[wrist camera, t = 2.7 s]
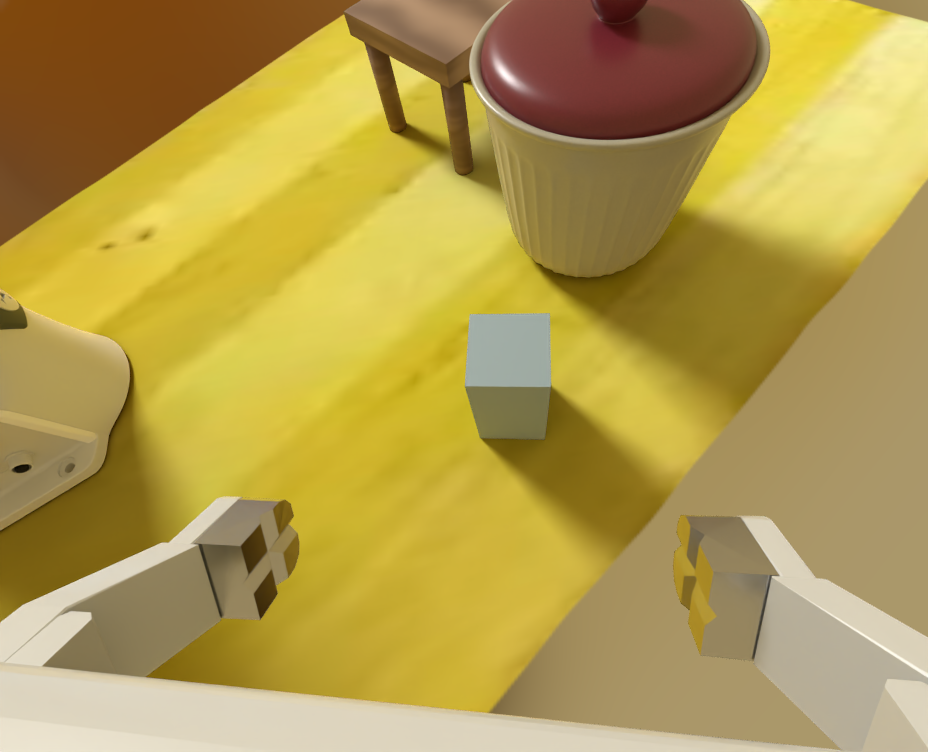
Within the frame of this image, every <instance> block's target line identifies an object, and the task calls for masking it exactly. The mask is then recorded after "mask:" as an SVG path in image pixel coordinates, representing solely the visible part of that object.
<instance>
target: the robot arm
mask: <svg viewBox="0 0 928 752" xmlns="http://www.w3.org/2000/svg"><path fill="white" fill-rule="evenodd" d="M129 383H130V368H129V363H128V360H127V357H126V355H125V353H124V351H123V350H122V348H121V347H120V346H119V345H118V344H117V343H116V342H114V341H113V340H111V339H109V338H107V337H105V336H102V335H98V334H93V333H89V332H86V331H83V330H79V329H76V328H73V327H70V326H68V325H65V324H62V323H60V322H57V321H55V320H52V319H50V318H48V317H45V316H43V315H41V314H38V313H36V312H34V311H32V310H29V309H27V308H25V307H23V306H21V305H20V304H19V303H18V302H17V301H16V300H15V299H14V298H13V297H11V296H10V295H9V294H7V293H6V292H5V291H3V290H2V289H0V530H2V529H4V528H5V527H7V526H9V525H10V524H12V523H14V522H15V521H17V520H19V519H20V518H22V517H24V516H25V515H27V514H29V513H30V512H32V511H34V510H35V509H37V508H39V507H40V506H42V505H44V504H45V503H47V502H49V501H50V500H52V499H54V498H55V497H57V496H59V495H60V494H62V493H64V492H65V491H67V490H69V489H70V488H72V487H73V486H75V485H77V484H78V483H80V482H82V481H83V480H85V479H87V478H88V477H90V476H92V475H93V474H95V473H96V472H97V471H98V470H99V469H100V468H101V466H102V464H103V462H104V459H105V456H106V451H107V445H108V438H109V434H110V431H111V429H112V427H113V425H114V423H115V421H116V419H117V417H118V415H119V414H120V412H121V409H122V407H123V405H124V402H125V400H126V397H127V393H128V389H129ZM293 517H294V515H293V511H292V507H291V504H290V503H289V502H288V501H286V500H283V499H267V498H250V497H244V498H243V497H228V496H225V497H221V498H217V499H216V500H215V501H214V502H213V503H212V504H211V505H210V506H209V507H207V508H206V509H205V510H204V511H203V512H202V513H201V514H200V515H199V516H198V517H196V518H195V519H194V520H193V521H192V522H191V523H190V524H189V525H188V526H187V527H185V528H184V529H183V530H182V531H181V532H180V533H179V534H178V535H177V536H176V537H174V538H173V539H172V540H171V541H170V542H169V543H160V544H158V545H155V546H153V547H151V548H149V549H146V550H144V551H142V552H140V553H138V554H135V555H133V556H131V557H129V558H126V559H124V560H122V561H120V562H117V563H115V564H113V565H111V566H109V567H106V568H104V569H102V570H100V571H97V572H95V573H93V574H91V575H88V576H86V577H84V578H82V579H79V580H77V581H75V582H73V583H71V584H68V585H66V586H64V587H62V588H59V589H57V590H55V591H53V592H50V593H48V594H46V595H44V596H42V597H39V598H37V599H35V600H33V601H30V602H28V603H26V604H24V605H22V606H21V607H19V608H18V609H17V610H16V611H14V612H13V613H12V614H10V615H9V616H8V617H7V618H5V619H4V620H3V621H1V622H0V752H928V638H927V637H926V636H924V635H922V634H921V633H919V632H917V631H915V630H914V629H912V628H910V627H908V626H907V625H905V624H903V623H902V622H900V621H898V620H896V619H894V618H893V617H891V616H889V615H887V614H886V613H884V612H882V611H881V610H879V609H877V608H875V607H874V606H872V605H870V604H868V603H867V602H865V601H863V600H861V599H860V598H858V597H856V596H854V595H853V594H851V593H849V592H848V591H846V590H844V589H842V588H841V587H839V586H837V585H835V584H834V583H832V582H830V581H828V580H827V579H816V577H815V576H814V575H813V573H812V572H811V571H810V570H809V568H808V567H807V566H806V564H805V563H804V562H803V560H802V559H801V558H800V557H799V556H798V554H797V553H796V551H795V550H794V549H793V548H792V546H791V545H790V544H789V542H788V541H787V540H786V538H785V537H784V536H783V535H782V533H781V532H780V531H779V529H778V528H777V527H776V526H775V524H774V523H773V522H772V520H771V519H769V518H767V517H766V516H736V517H730V516H694V515H691V516H690V515H681V516H680V518H679V521H678V526H677V535H678V537H679V539H680V542H681V544H682V545H681V546H680V547H679V548H678V549H677V550H676V551H675V552H674V562H673V570H674V582H675V586H676V590H677V594H678V596H679V599H680V602H681V604H682V605H684V606H685V607H686V608H687V609H688V610H690V613H689V621H688V624H689V627H690V629H691V632H692V634H693V637H694V640H695V642H696V645H697V648H698V650H699V653H700V655H701V656H711V657H720V658H729V659H738V660H748V661H754V665H755V666H756V667H757V668H758V669H759V670H760V671H761V672H762V673H764V674H765V675H766V676H767V677H768V678H769V679H770V680H771V681H772V682H773V683H774V684H775V685H776V686H777V687H778V688H779V689H780V690H781V691H782V692H783V693H784V694H785V695H786V696H787V697H788V698H789V699H790V700H791V701H792V702H793V703H794V704H795V705H796V706H797V707H798V708H799V709H801V710H802V712H804V713H805V715H807V716H808V717H809V718H810V719H811V720H812V721H813V722H814V723H815V724H816V725H817V726H818V727H819V728H820V729H821V730H822V731H823V732H824V733H825V734H826V735H827V736H828V737H829V738H830V739H831V740H832V741H833V742H834V743H835V744H836V745H837V746H838V747H839V748H840V749H841V750H834V749H825V748H814V747H805V746H796V745H787V744H777V743H768V742H758V741H748V740H739V739H729V738H719V737H709V736H699V735H690V734H680V733H671V732H661V731H651V730H642V729H633V728H623V727H613V726H605V725H595V724H585V723H577V722H567V721H557V720H548V719H539V718H528V717H520V716H511V715H501V714H492V713H483V712H473V711H463V710H454V709H444V708H435V707H425V706H416V705H406V704H396V703H387V702H377V701H368V700H358V699H349V698H339V697H329V696H320V695H310V694H301V693H291V692H282V691H272V690H262V689H253V688H243V687H234V686H224V685H215V684H205V683H196V682H186V681H177V680H167V679H158V678H148V677H146V676H147V675H149V674H150V673H151V672H153V671H154V670H155V669H157V668H158V667H159V666H161V665H162V664H163V663H165V662H166V661H167V660H169V659H170V658H171V657H173V656H174V655H175V654H177V653H178V652H179V651H181V650H182V649H183V648H185V647H186V646H187V645H189V644H190V643H191V642H193V641H194V640H195V639H197V638H198V637H199V636H201V635H202V634H204V633H205V632H206V631H208V630H209V629H210V628H212V627H213V626H214V625H216V624H217V623H218V622H220V621H221V618H230V619H251V620H261V618H262V617H263V615H264V614H265V612H266V611H267V609H268V608H269V606H270V605H271V603H272V602H273V600H274V599H275V597H276V596H277V594H278V593H277V587H276V585H278V584H279V583H281V582H282V581H284V580H286V579H287V578H289V576H290V574H291V573H292V571H293V570H294V568H295V566H296V562H297V559H298V555H299V539H298V534H297V532H296V531H295V530H294V529H293V528H292V527H291V526H290V525H289V523H290V522H291V520H292V518H293Z"/></svg>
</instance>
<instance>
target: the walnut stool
mask: <svg viewBox="0 0 928 752" xmlns="http://www.w3.org/2000/svg"><path fill="white" fill-rule="evenodd" d="M509 1H511V0H361V1H359V2H358V3H356V4H354V5H353V6H351V7H350V8H348V9H347V10H345V11H344V15H345V18H346V21H347V24H348V27H349V30H350V34H351V35H352V36H354V37H356V38H358V39H359V40H361V41H363V42H364V43H365V46H366V50H367V53H368V56H369V60H370V63H371V67H372V70H373V73H374V77H375V80H376V84H377V87H378V90H379V94H380V97H381V101H382V104H383V107H384V111H385V114H386V118H387V121H388V124H389V128H390V130H391V131H392V132H401V131H403V130H404V129H405V128H406V126H407V124H406V120H405V117H404V113H403V109H402V105H401V101H400V97H399V93H398V89H397V85H396V81H395V77H394V74H393V70H392V66H391V62H390V58H389V56H391V57H393V58H394V59H396V60H398V61H400V62H402V63H404V64H405V65H407V66H409V67H411V68H413V69H415V70H416V71H418V72H420V73H422V74H424V75H426V76H428V77H429V78H431V79H433V80H435V81H437V82H439V83H440V85H441V91H442V97H443V103H444V109H445V114H446V120H447V126H448V132H449V138H450V144H451V150H452V156H453V162H454V167H455V171H456V173H458V174H460V175H466V174H469V173H470V172H471V171H472V170H473V159H472V151H471V143H470V135H469V127H468V119H467V111H466V103H465V95H464V87H463V82H467V81H470V80H471V77H470V70H469V59H470V53H471V49H472V46H473V43H474V41H475V39H476V37H477V35H478V33H479V32H480V30H481V29H482V27H483V26H484V24H485V23H486V22H487V21H488V20H489V19H490V17H491V16H492V15H493V14H494V13H495V12H497V11H498V10H499V9H500V8H501V7H503V6H504V5H505V4H506V3H508V2H509Z"/></svg>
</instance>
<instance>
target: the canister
mask: <svg viewBox="0 0 928 752" xmlns="http://www.w3.org/2000/svg"><path fill="white" fill-rule="evenodd" d="M769 59H770V43H769V38H768V34H767V31H766V29H765V26H764V24H763V23H762V21H761V19H760V18H759V16H758V15H757V14H756V12H755V11H754V10H753V9H752V8H751V7H750V6H749V5H748V4H747V3H746V2H745V1H744V0H511V1H509V2H508V3H506V4H505V5H504V6H503V7H501V8H500V9H499V10H498V11H497V12H495V13H494V14H493V15H492V16H491V17H490V19H489V20H488V21H487V22H486V23H485V24H484V26H483V27H482V29H481V30H480V32H479V33H478V35H477V37H476V39H475V41H474V43H473V46H472V49H471V53H470V59H469V70H470V77H471V82H472V85H473V87H474V90H475V92H476V94H477V96H478V97H479V99H480V100H481V102H482V103H483V105H484V106H485V108H486V113H487V119H488V124H489V129H490V134H491V138H492V143H493V148H494V153H495V158H496V163H497V169H498V173H499V178H500V183H501V187H502V192H503V196H504V200H505V204H506V209H507V213H508V217H509V220H510V223H511V227H512V230H513V233H514V235H515V237H516V238H517V240H518V243H519V244H520V246H521V247H522V248H523V249H524V250H525V252H526V253H527V255H528V256H530V257H532V258H533V259H534V261H535V262H537V263H539V264H541V265H543V267H544V268H547V269H551V270H552V271H554V272H555V273H561V274H564V275H565V276H568V275H569V276H574V277H576V278H577V277H587V278H590V277H601V276H603V275H608V274H609V275H611V274H613V273H615V272H617V271H622V270H624V269H626V268H627V267H628V266H631V265H634V264H635V263H636V262H637V261H638V260H639V259H642V258H643V257H645V256H646V255H647V254H648V252H649V251H650V250H651V249H652V248H653V247H654V246H655V245H656V244H657V243H658V241H659V240H660V238H661V237H662V235H663V234H664V232H665V231H666V229H667V228H668V226H669V224H670V223H671V221H672V219H673V218H674V216H675V214H676V213H677V211H678V209H679V208H680V206H681V204H682V203H683V201H684V199H685V198H686V196H687V194H688V192H689V191H690V189H691V187H692V185H693V184H694V182H695V180H696V178H697V177H698V175H699V173H700V171H701V169H702V167H703V166H704V164H705V162H706V160H707V158H708V157H709V155H710V153H711V151H712V149H713V148H714V146H715V144H716V142H717V141H718V139H719V137H720V135H721V134H722V132H723V130H724V128H725V126H726V124H727V123H728V121H729V119H730V117H731V115H732V114H733V113H735V112H736V111H737V110H738V109H739V108H740V107H741V106H742V105H743V104H745V103H746V102H747V101H748V100H749V98H750V97H751V96H752V95H753V94H754V92H755V91H756V90H757V88H758V87H759V85H760V84H761V82H762V80H763V78H764V75H765V73H766V71H767V68H768V64H769Z"/></svg>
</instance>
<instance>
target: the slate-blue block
mask: <svg viewBox="0 0 928 752" xmlns="http://www.w3.org/2000/svg"><path fill="white" fill-rule="evenodd" d="M465 388H466V392H467V395H468V398H469V402H470V405H471V408H472V412H473V415H474V419H475V422H476V425H477V429H478V432H479V436H480V438H495V439H537V440H545V435H546V426H547V417H548V409H549V400H550V391H551V360H550V313H543V314H470V320H469V334H468V349H467V364H466V378H465Z"/></svg>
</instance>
